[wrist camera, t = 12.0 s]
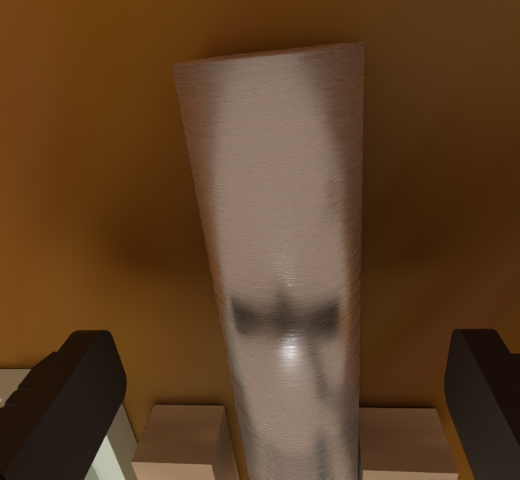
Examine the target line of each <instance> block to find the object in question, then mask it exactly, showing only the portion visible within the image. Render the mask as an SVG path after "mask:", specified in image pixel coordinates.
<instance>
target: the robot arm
mask: <svg viewBox="0 0 520 480" xmlns="http://www.w3.org/2000/svg"><path fill="white" fill-rule="evenodd" d="M126 384H127V381H126V374H125V371H124V368H123V365H122V363H121V360H120V357H119V354H118V351H117V348H116V345H115V343H114V340H113V337H112V335H111V333H110V332H109V331H107V330H77V331H75V332H73V333H72V334H71V335H70V336H69V337H68V339H67V340H66V341H65V343H64V344H63V345H62V347H61V348H60V349H59V350H58V352H52V353H51V354H50V355H49V356H47V357H46V358H45V359H43V360H42V361H41V362H40V363H38V364H37V365H36V366H34V367H33V368H32V369H31V370H30V372H29V373H28V374H27V375H26V377H25V378H24V379H23V380H22V382H21V383H20V384H19V385H18V389H17V391H14V392H13V393H12V394H11V395H10V397H9V398H8V399H7V400H6V401H5V405H4V407H1V408H0V480H84V479H85V477H86V475H87V473H88V471H89V469H90V467H91V465H92V463H93V461H94V459H95V457H96V455H97V453H98V451H99V449H100V447H101V445H102V442H103V440H104V438H105V436H106V434H107V432H108V430H109V428H110V426H111V424H112V422H113V420H114V418H115V416H116V414H117V412H118V410H119V408H120V406H121V404H122V402H123V399H124V396H125V393H126ZM444 389H445V397H446V402H447V406H448V409H449V412H450V414H451V417H452V420H453V422H454V425H455V428H456V430H457V433H458V436H459V438H460V441H461V444H462V446H463V449H464V452H465V454H466V457H467V460H468V462H469V465H470V468H471V470H472V473H473V476H474V478H475V480H520V354H511V353H510V352H509V350H508V348H507V347H506V345H505V344H504V342H503V341H502V339H501V337H500V336H499V334H498V333H497V332H496V331H495V330H494V329H455V330H454V331H453V333H452V336H451V342H450V348H449V354H448V360H447V366H446V372H445V379H444Z"/></svg>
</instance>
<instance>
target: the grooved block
mask: <svg viewBox="0 0 520 480" xmlns="http://www.w3.org/2000/svg"><path fill="white" fill-rule="evenodd" d="M30 370H31V369H0V408H1V407H4V405H5V401H6V400H7V399H8V398H9V397H10V395H11V394H12V393H13V392H14V391H17V389H18V385H19V384H20V383H21V382H22V380H23V379H24V378H25V377H26V375H27V374H28V373H29V372H30ZM137 446H138V444H137V441H136V439H135V436H134V433H133V431H132V428H131V425H130V423H129V420H128V417H127V415H126V412H125V409H124V407H123V404H121V406H120V408H119V410H118V412H117V414H116V416H115V418H114V420H113V422H112V424H111V426H110V428H109V430H108V432H107V434H106V436H105V438H104V440H103V442H102V445H101V447H100V449H99V451H98V453H97V455H96V457H95V459H94V461H93V463H92V465H91V467H90V469H89V471H88V473H87V475H86V477H85V479H84V480H138V479H137V476H136V474H135V471H134V469H133V466H132V464H131V460H132V458H133V455H134V453H135V450H136V448H137Z"/></svg>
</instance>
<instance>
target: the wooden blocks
mask: <svg viewBox="0 0 520 480" xmlns="http://www.w3.org/2000/svg"><path fill="white" fill-rule="evenodd" d="M131 464H132V466H133V469H134V471H135V474H136V476H137V479H138V480H240V479H239V474H238V470H237V465H236V460H235V455H234V450H233V445H232V440H231V436H230V431H229V426H228V421H227V416H226V411H225V406H214V405H154V406H153V409H152V411H151V414H150V416H149V419H148V421H147V423H146V426H145V428H144V431H143V433H142V436H141V438H140V441H139V443H138V446H137V448H136V450H135V453H134V455H133V458H132V460H131ZM457 478H458V471H457V468H456V465H455V462H454V459H453V456H452V454H451V451H450V448H449V445H448V442H447V439H446V436H445V433H444V430H443V428H442V425H441V422H440V419H439V416H438V413H437V410H436V409H420V408H359V439H358V480H457Z"/></svg>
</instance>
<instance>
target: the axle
mask: <svg viewBox="0 0 520 480" xmlns="http://www.w3.org/2000/svg"><path fill="white" fill-rule="evenodd" d="M364 52H365V42H349V43H335V44H323V45H313V46H303V47H294V48H285V49H276V50H267V51H258V52H249V53H240V54H232V55H224V56H217V57H209V58H202V59H196V60H189V61H183V62H178V63H174V64H172V69H173V75H174V80H175V85H176V91H177V96H178V101H179V107H180V112H181V117H182V123H183V128H184V133H185V139H186V144H187V149H188V155H189V160H190V165H191V171H192V176H193V181H194V187H195V192H196V197H197V203H198V208H199V213H200V219H201V224H202V230H203V235H204V240H205V246H206V251H207V256H208V262H209V267H210V272H211V278H212V283H213V288H214V294H215V299H216V304H217V310H218V315H219V320H220V326H221V331H222V336H223V342H224V347H225V352H226V358H227V363H228V368H229V374H230V379H231V384H232V390H233V395H234V400H235V406H236V411H237V416H238V422H239V427H240V432H241V438H242V443H243V448H244V454H245V459H246V464H247V470H248V475H249V480H358V439H359V374H360V310H361V245H362V181H363V116H364Z"/></svg>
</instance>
